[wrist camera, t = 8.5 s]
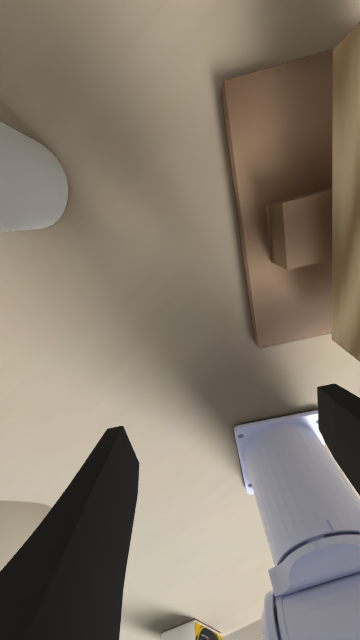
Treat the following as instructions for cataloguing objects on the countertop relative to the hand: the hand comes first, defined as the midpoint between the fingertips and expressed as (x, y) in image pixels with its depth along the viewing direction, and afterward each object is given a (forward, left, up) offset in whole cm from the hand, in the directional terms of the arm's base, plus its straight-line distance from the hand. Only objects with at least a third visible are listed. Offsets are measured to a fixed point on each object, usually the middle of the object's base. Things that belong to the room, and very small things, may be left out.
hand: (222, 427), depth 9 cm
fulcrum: (+5, -10, -10) cm, 15 cm away
